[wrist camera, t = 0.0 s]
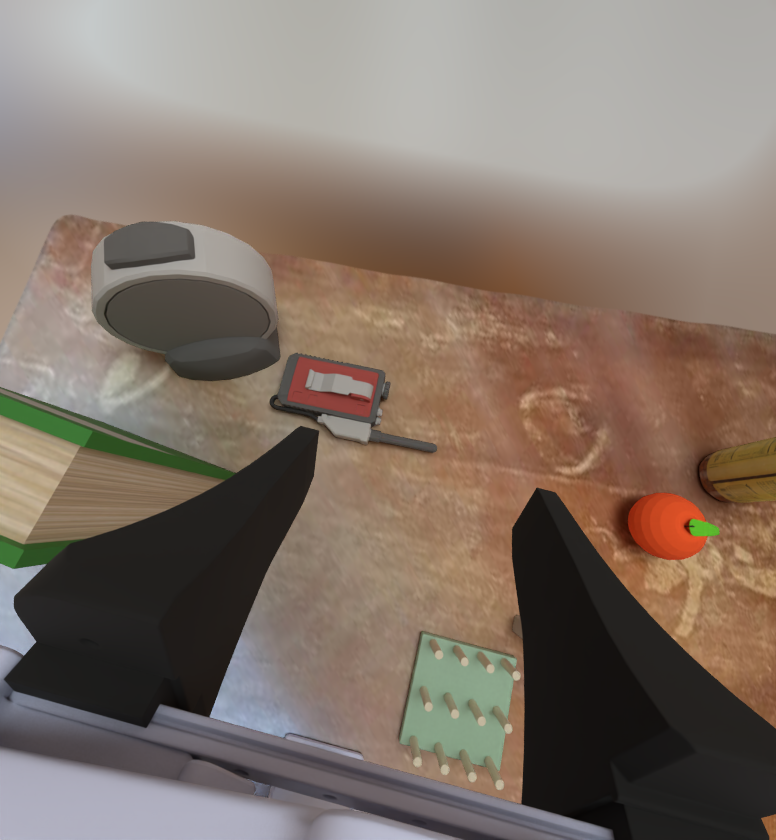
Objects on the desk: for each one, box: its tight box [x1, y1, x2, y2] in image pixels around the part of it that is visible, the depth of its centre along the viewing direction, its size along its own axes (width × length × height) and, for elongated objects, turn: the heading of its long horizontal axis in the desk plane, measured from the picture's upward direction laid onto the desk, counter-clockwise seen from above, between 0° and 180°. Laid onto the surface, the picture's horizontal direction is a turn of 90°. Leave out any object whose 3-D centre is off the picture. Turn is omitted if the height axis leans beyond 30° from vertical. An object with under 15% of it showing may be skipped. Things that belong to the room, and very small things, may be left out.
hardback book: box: [0, 387, 236, 569], centre depth 32 cm, size 18×7×24 cm, turn 70°
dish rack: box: [399, 631, 520, 790], centre depth 38 cm, size 10×10×4 cm
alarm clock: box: [91, 221, 280, 381], centre depth 39 cm, size 16×10×18 cm, turn 101°
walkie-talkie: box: [270, 353, 437, 453], centre depth 44 cm, size 9×4×20 cm
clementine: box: [628, 493, 719, 560], centre depth 41 cm, size 8×7×7 cm
